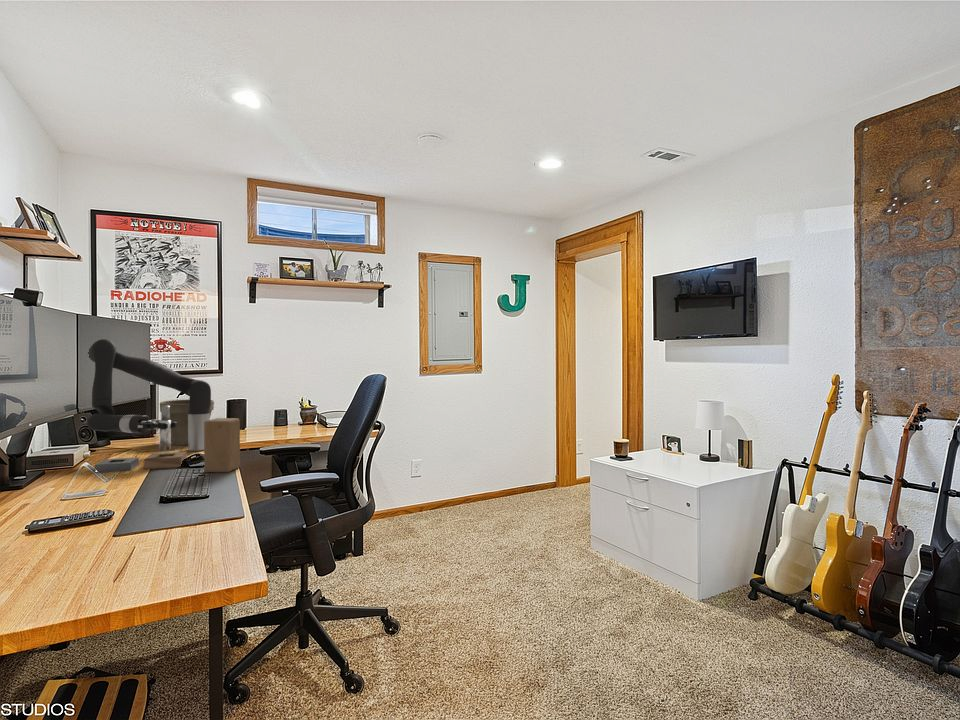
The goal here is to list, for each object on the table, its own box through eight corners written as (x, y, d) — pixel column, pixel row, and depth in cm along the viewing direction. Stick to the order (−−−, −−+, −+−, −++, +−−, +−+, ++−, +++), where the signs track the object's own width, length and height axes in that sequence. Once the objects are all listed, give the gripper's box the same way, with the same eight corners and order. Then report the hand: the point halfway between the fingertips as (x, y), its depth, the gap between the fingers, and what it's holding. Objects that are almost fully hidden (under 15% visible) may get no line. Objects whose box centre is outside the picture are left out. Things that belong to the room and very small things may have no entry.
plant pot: (208, 445, 271) (208, 402, 271) (153, 448, 265) (152, 403, 265) (218, 438, 295) (218, 398, 295) (168, 440, 289) (167, 399, 289)
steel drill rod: (160, 448, 224) (161, 405, 224) (171, 448, 225) (172, 405, 225) (158, 450, 220) (159, 406, 220) (169, 450, 222) (170, 406, 222)
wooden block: (229, 472, 208) (228, 420, 208) (203, 472, 208) (202, 420, 208) (241, 467, 218) (240, 417, 218) (216, 467, 218) (216, 417, 218)
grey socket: (104, 466, 220) (104, 459, 220) (138, 464, 224) (138, 457, 224) (94, 472, 209) (94, 464, 209) (130, 470, 213) (130, 462, 213)
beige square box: (151, 463, 227) (151, 453, 227) (186, 461, 231) (186, 451, 231) (144, 469, 215) (144, 459, 215) (181, 466, 219) (181, 457, 219)
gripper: (121, 416, 218) (158, 418, 215) (148, 413, 232) (184, 414, 229) (120, 435, 218) (158, 436, 215) (148, 430, 232) (183, 432, 229)
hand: (171, 425), depth 222 cm, fingers closed on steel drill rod, 4 cm apart
